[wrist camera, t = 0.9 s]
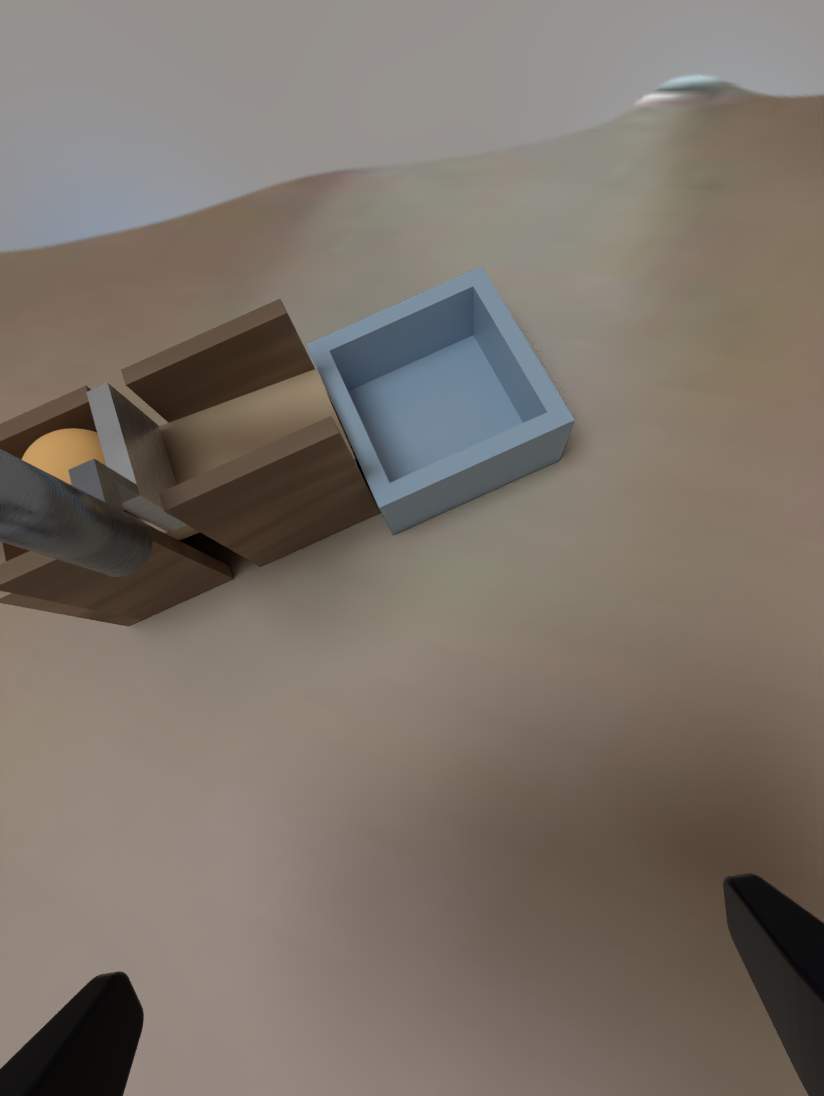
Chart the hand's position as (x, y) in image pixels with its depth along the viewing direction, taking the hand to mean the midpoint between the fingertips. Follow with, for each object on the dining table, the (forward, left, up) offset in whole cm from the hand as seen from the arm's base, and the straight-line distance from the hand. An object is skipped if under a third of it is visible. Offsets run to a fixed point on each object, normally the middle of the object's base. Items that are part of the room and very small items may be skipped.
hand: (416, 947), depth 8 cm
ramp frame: (+9, +13, -14) cm, 21 cm away
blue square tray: (+16, +5, -14) cm, 22 cm away
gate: (+7, +13, -9) cm, 17 cm away
